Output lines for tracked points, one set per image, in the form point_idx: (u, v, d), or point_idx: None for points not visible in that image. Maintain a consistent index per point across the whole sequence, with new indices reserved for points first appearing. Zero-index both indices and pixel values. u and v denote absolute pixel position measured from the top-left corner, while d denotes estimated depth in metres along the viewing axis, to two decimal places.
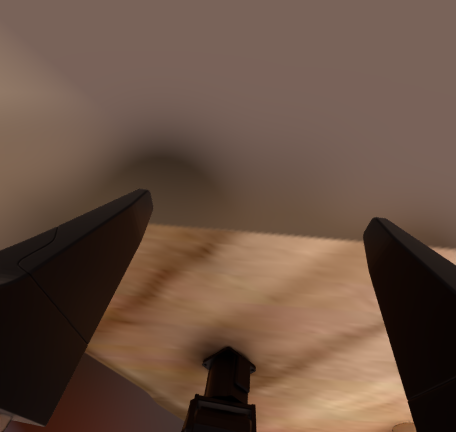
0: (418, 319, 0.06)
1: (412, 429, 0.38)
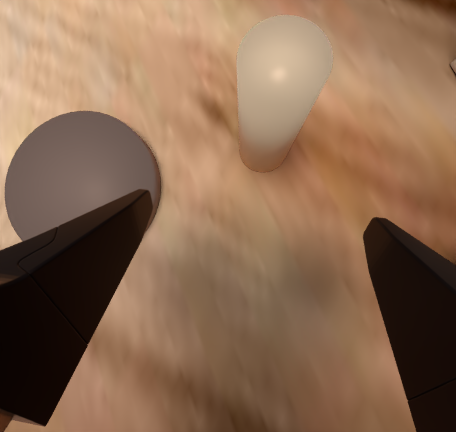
0: (418, 319, 0.06)
1: (242, 157, 0.23)
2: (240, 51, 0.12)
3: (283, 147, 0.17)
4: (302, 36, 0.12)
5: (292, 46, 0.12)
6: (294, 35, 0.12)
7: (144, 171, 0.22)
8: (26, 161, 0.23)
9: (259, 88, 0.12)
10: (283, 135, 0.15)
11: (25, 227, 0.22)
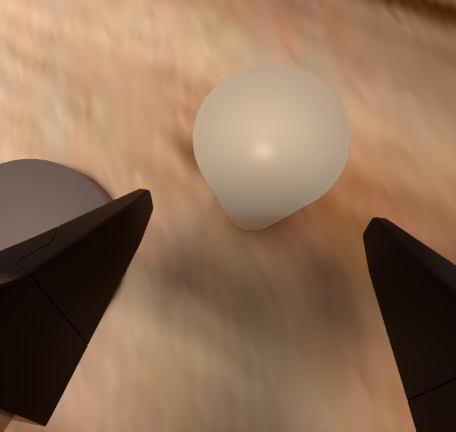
0: (418, 319, 0.06)
1: None
2: (199, 124, 0.07)
3: None
4: (299, 99, 0.07)
5: (283, 115, 0.07)
6: (286, 97, 0.07)
7: None
8: None
9: (230, 186, 0.07)
10: (275, 221, 0.10)
11: None
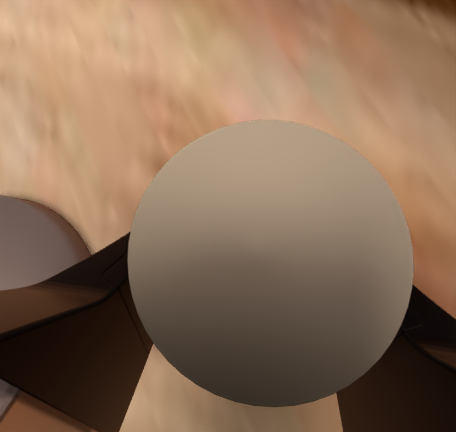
0: None
1: None
2: (138, 229, 0.04)
3: None
4: (317, 186, 0.04)
5: (288, 216, 0.04)
6: (294, 183, 0.04)
7: None
8: None
9: (192, 348, 0.04)
10: None
11: None
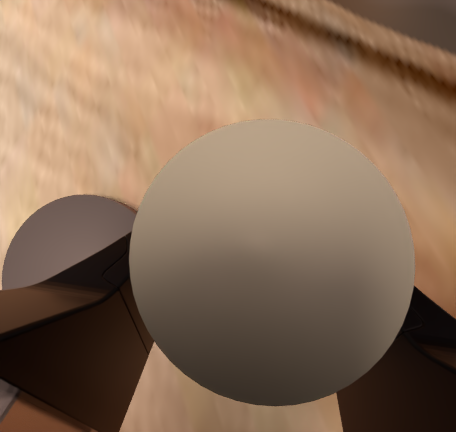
0: None
1: None
2: (140, 228, 0.04)
3: None
4: (319, 185, 0.04)
5: (289, 216, 0.04)
6: (295, 182, 0.04)
7: None
8: (26, 244, 0.22)
9: (193, 347, 0.04)
10: None
11: None
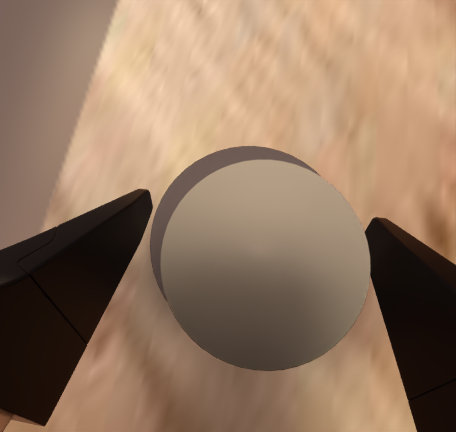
0: (419, 319, 0.06)
1: None
2: (168, 242, 0.05)
3: None
4: (301, 210, 0.05)
5: (279, 233, 0.05)
6: (284, 208, 0.05)
7: None
8: None
9: (209, 329, 0.05)
10: None
11: None
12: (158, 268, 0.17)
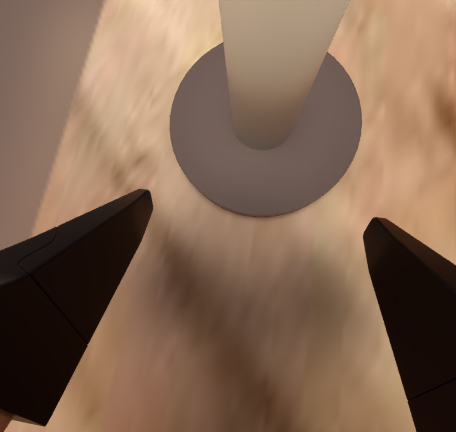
0: (418, 319, 0.06)
1: (236, 130, 0.17)
2: None
3: (292, 103, 0.12)
4: None
5: None
6: None
7: (347, 142, 0.17)
8: (217, 66, 0.19)
9: None
10: (294, 75, 0.10)
11: (183, 137, 0.18)
12: (178, 148, 0.18)
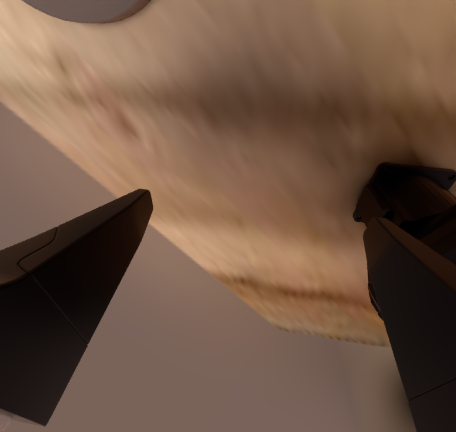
0: (418, 319, 0.06)
1: None
2: None
3: None
4: None
5: None
6: None
7: None
8: None
9: None
10: None
11: None
12: (47, 6, 0.15)
